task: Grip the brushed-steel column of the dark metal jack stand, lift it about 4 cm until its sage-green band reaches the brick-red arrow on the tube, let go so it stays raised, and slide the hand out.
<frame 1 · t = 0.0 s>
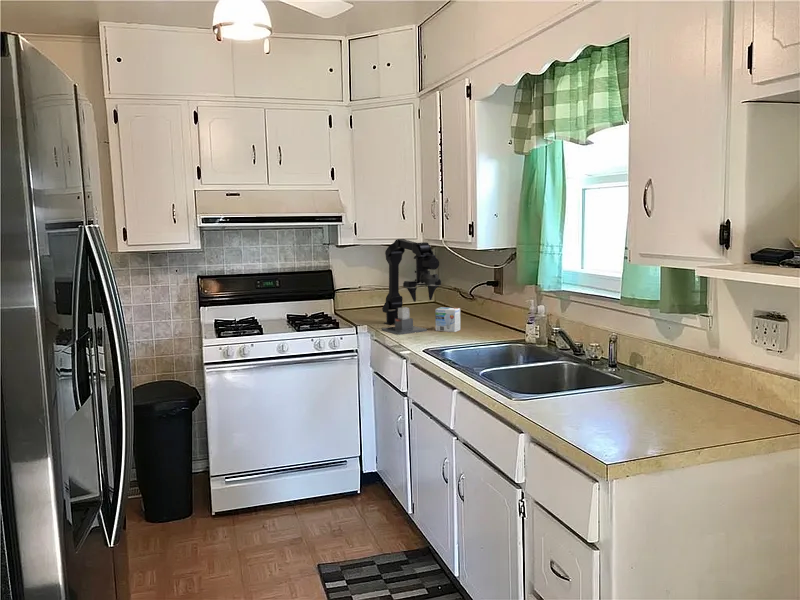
hand: (422, 300, 325), 15 cm above the worktop, fingers open, 9 cm apart
stand: (404, 330, 328), on the worktop
column: (403, 318, 328), point 6 cm above the worktop, slide at 0.0 cm
light bulb box: (448, 330, 327), on the worktop
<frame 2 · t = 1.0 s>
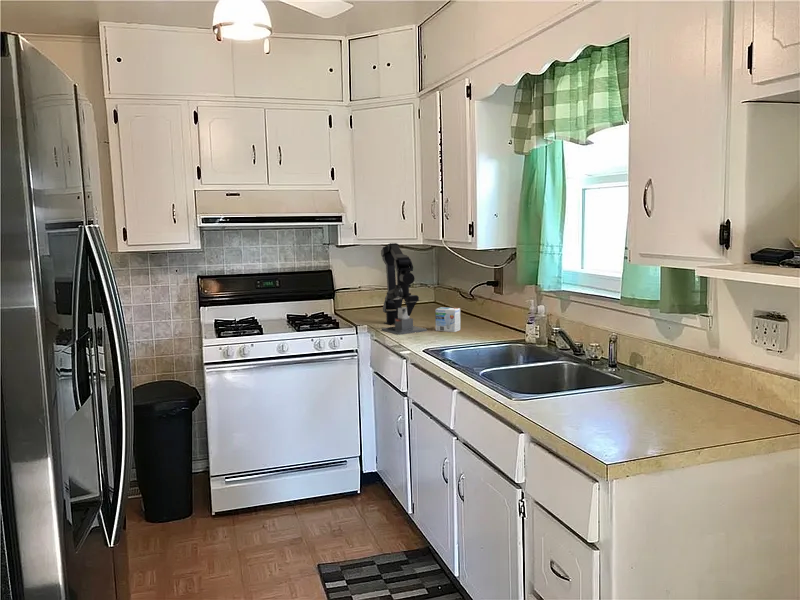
hand: (403, 314, 327), 8 cm above the worktop, fingers open, 9 cm apart
nothing on the worktop moved.
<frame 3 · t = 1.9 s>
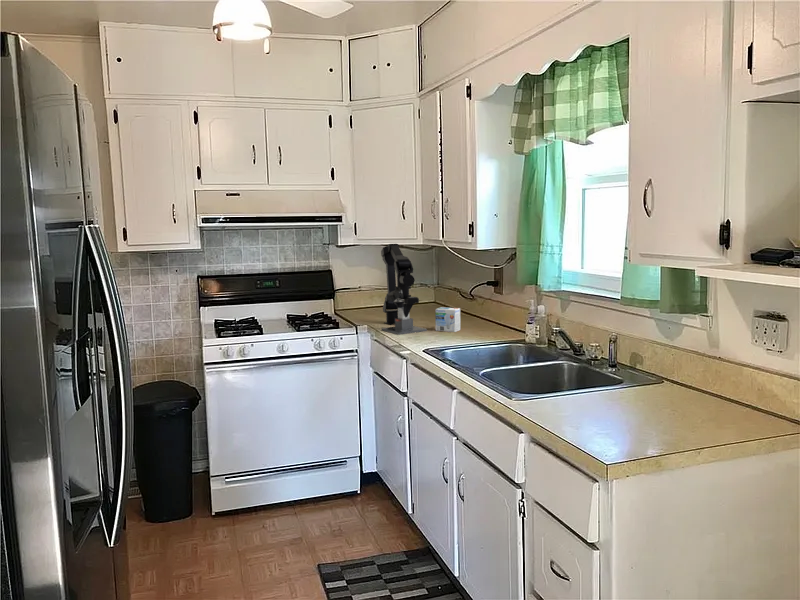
hand: (403, 316, 328), 7 cm above the worktop, fingers closed on column, 4 cm apart
column: (403, 318, 328), point 6 cm above the worktop, slide at 0.0 cm, touching gripper
everything else where it was.
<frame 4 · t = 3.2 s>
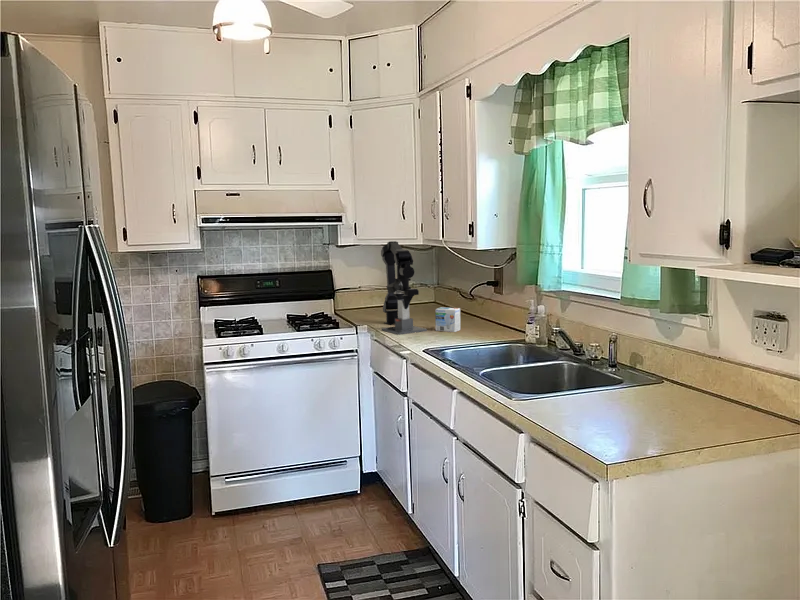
hand: (403, 308, 327), 11 cm above the worktop, fingers closed on column, 4 cm apart
column: (403, 310, 327), point 10 cm above the worktop, slide at 3.9 cm, touching gripper
everything else where it was.
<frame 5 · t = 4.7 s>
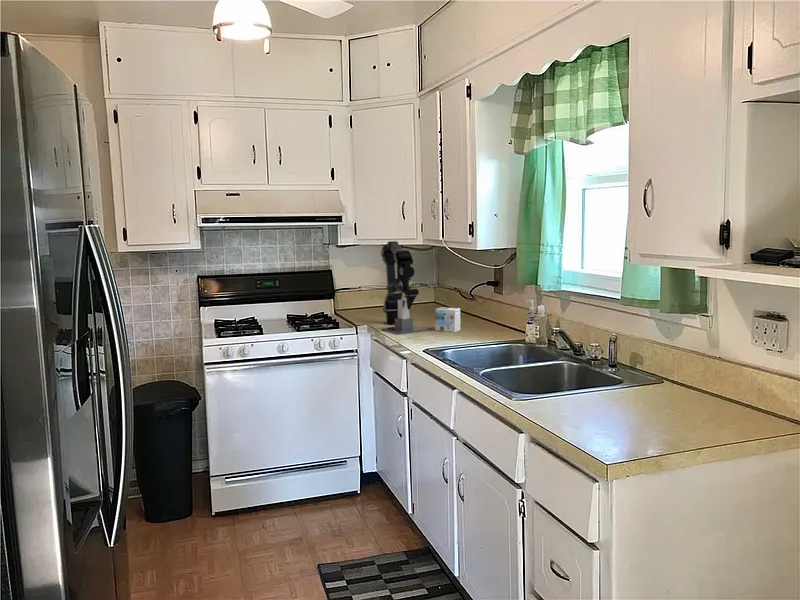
hand: (403, 308, 327), 11 cm above the worktop, fingers open, 9 cm apart
column: (403, 310, 327), point 10 cm above the worktop, slide at 3.9 cm
everything else where it was.
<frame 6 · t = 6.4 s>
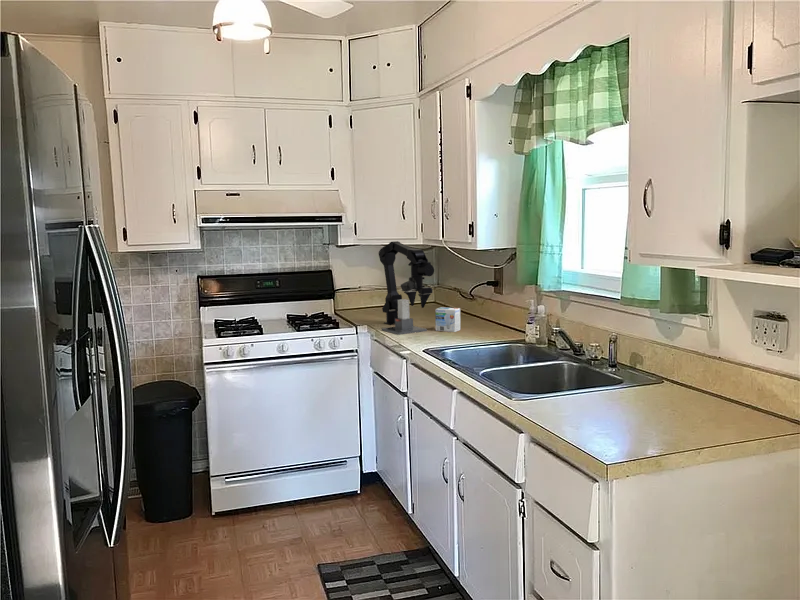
hand: (417, 306, 331), 11 cm above the worktop, fingers open, 9 cm apart
nothing on the worktop moved.
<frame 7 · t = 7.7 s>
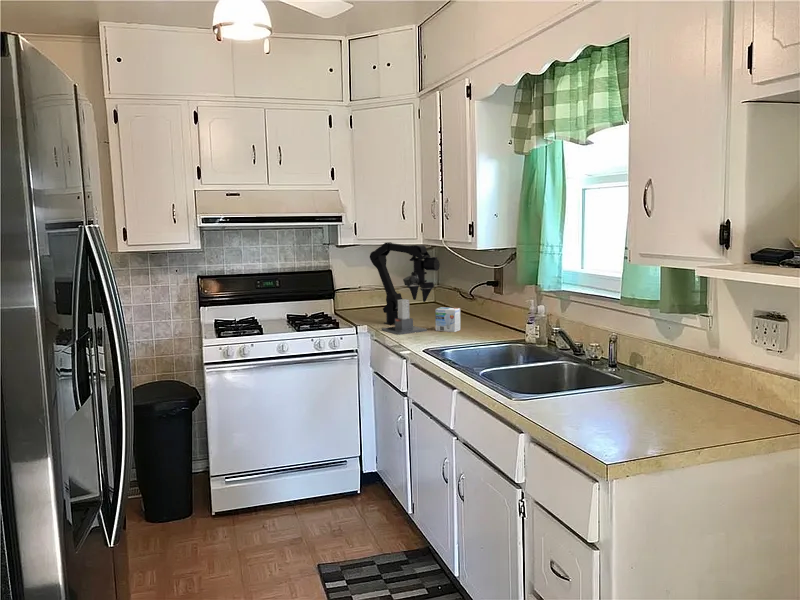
hand: (419, 300, 340), 13 cm above the worktop, fingers open, 9 cm apart
nothing on the worktop moved.
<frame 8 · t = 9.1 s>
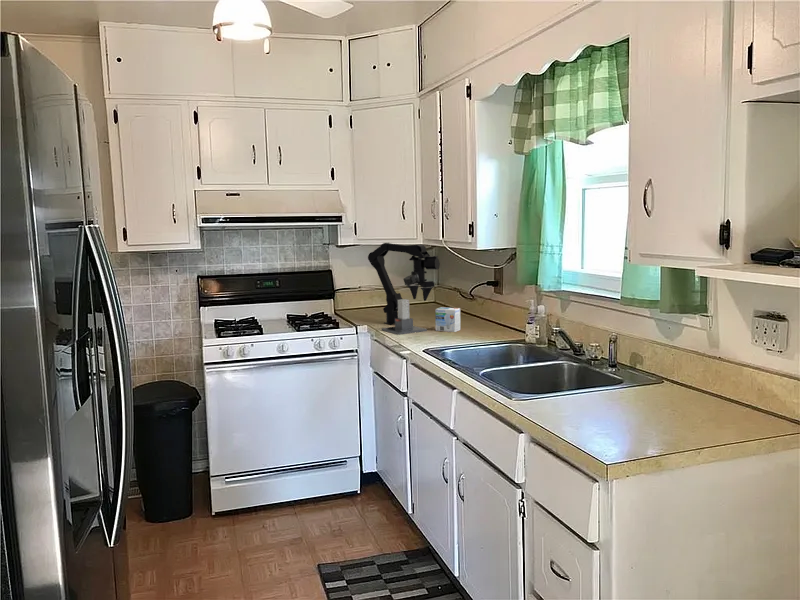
hand: (419, 300, 341), 13 cm above the worktop, fingers open, 9 cm apart
nothing on the worktop moved.
at the end: column slide at 3.9 cm; the gripper is holding nothing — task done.
